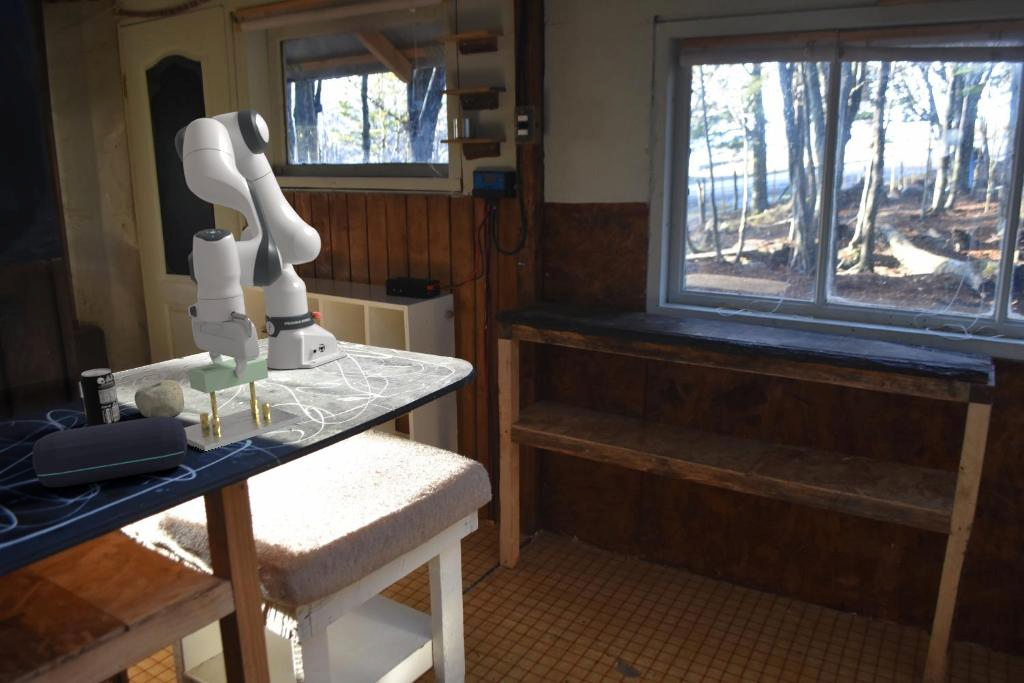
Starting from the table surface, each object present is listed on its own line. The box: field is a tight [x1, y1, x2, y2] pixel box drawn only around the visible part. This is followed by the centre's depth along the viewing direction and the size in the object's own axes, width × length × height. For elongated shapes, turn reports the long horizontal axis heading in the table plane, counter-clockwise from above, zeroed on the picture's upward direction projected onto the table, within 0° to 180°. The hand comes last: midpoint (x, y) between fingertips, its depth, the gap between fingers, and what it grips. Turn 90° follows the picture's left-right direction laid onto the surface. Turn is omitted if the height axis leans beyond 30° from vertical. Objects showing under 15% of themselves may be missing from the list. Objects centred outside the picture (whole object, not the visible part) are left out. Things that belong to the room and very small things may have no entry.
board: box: [187, 357, 269, 394], centre depth 166 cm, size 14×6×4 cm, turn 138°
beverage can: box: [79, 368, 121, 427], centre depth 174 cm, size 7×7×12 cm
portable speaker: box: [32, 416, 188, 488], centre depth 145 cm, size 25×10×10 cm, turn 113°
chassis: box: [184, 381, 302, 452], centre depth 168 cm, size 22×14×10 cm, turn 139°
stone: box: [134, 379, 185, 418], centre depth 180 cm, size 10×10×10 cm
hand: (230, 374), depth 166 cm, fingers closed on board, 6 cm apart
